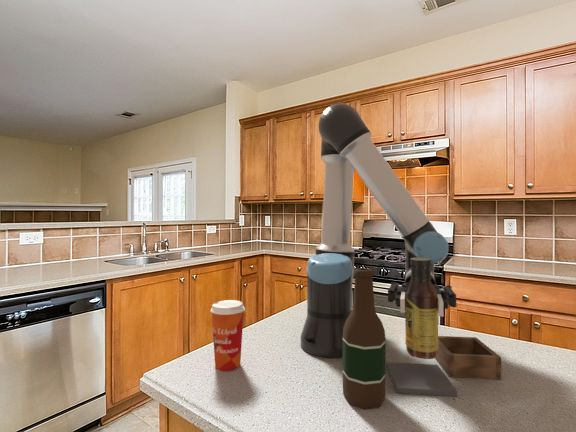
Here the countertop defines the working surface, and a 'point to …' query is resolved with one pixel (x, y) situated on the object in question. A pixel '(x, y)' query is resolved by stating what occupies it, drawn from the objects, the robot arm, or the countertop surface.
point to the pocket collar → (467, 358)
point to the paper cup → (227, 333)
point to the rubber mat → (420, 379)
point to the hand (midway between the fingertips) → (421, 307)
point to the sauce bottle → (421, 311)
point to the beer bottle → (364, 347)
